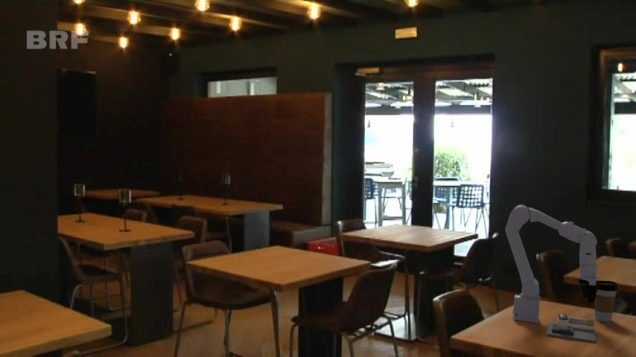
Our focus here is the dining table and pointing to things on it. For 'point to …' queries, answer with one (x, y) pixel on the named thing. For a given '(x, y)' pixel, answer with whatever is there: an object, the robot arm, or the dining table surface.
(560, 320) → the plug
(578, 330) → the panel
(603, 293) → the coffee cup
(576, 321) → the clip
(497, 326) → the dining table surface
